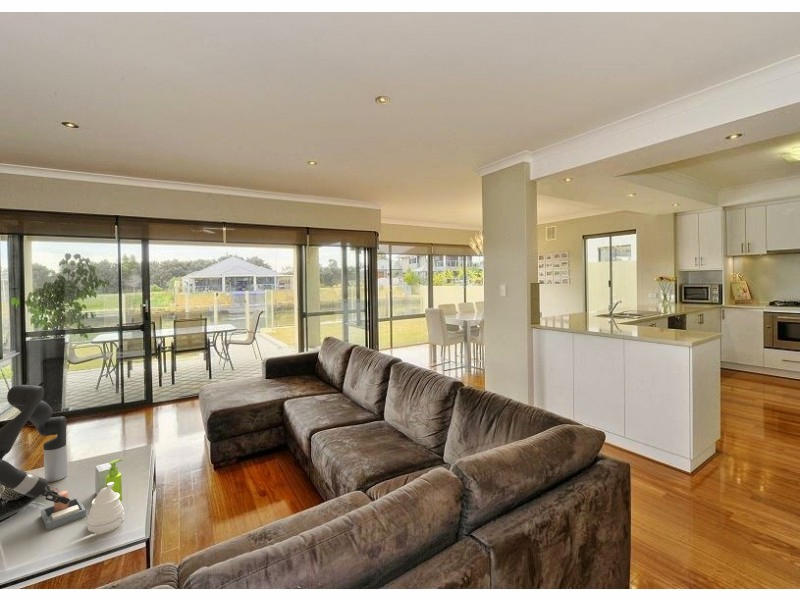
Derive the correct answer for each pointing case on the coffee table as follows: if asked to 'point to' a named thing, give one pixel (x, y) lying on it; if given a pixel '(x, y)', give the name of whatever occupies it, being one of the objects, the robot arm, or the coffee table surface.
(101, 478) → the skincare box
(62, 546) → the coffee table surface
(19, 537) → the coffee table surface
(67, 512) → the cream rectangular block
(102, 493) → the honey pot
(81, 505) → the tray
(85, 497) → the coffee table surface
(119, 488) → the soap dispenser
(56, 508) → the peach rounded ovoid
